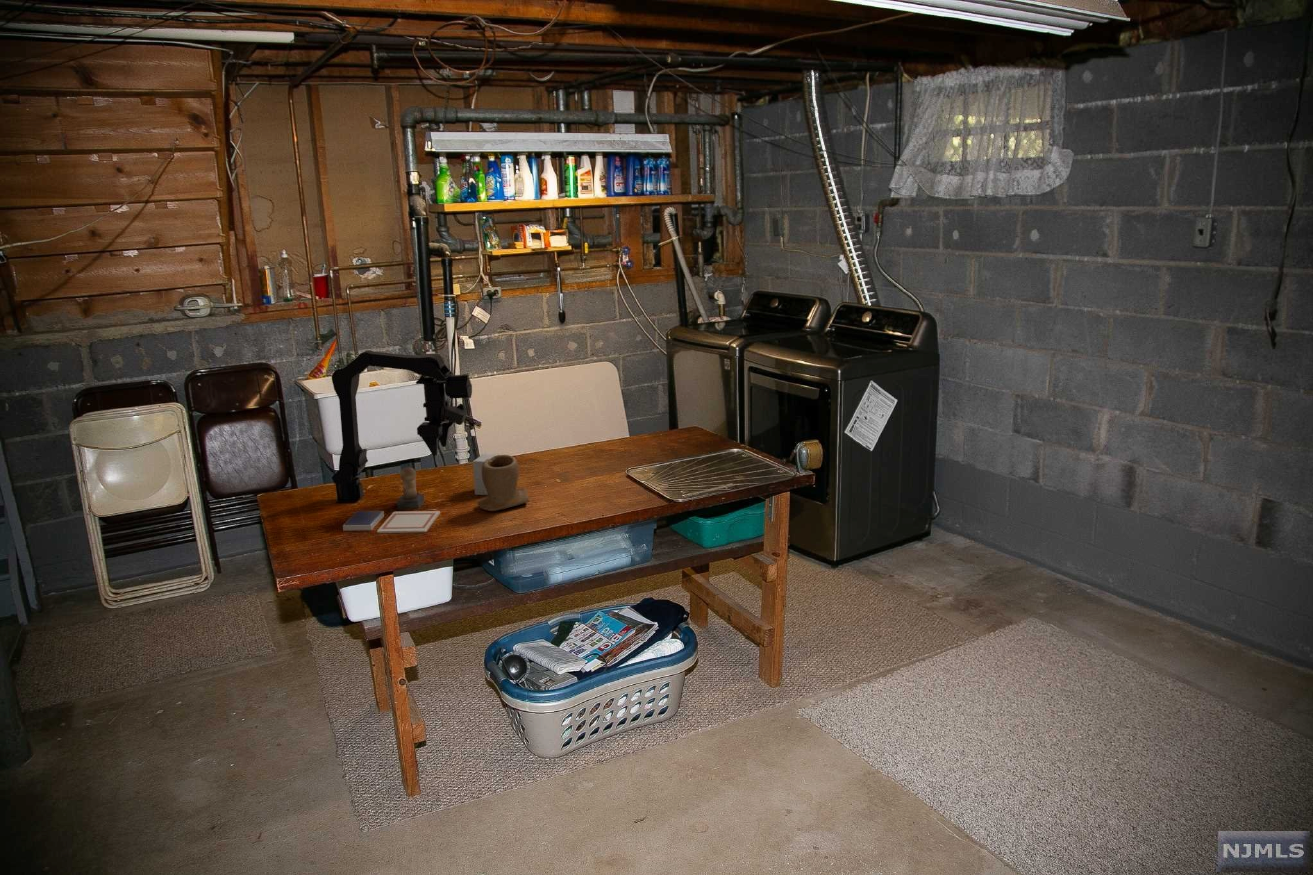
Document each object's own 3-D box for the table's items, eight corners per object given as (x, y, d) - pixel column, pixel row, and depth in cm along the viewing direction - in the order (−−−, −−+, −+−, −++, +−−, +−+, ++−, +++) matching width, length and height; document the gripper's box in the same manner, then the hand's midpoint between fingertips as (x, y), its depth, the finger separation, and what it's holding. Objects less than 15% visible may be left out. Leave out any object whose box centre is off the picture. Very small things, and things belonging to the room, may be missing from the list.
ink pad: (343, 530, 243) (342, 524, 243) (357, 516, 254) (356, 510, 253) (371, 530, 243) (370, 524, 242) (384, 515, 253) (383, 510, 253)
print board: (377, 532, 241) (376, 530, 241) (394, 513, 255) (393, 511, 255) (425, 532, 241) (425, 530, 240) (440, 512, 255) (439, 510, 255)
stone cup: (490, 518, 250) (486, 466, 246) (473, 506, 260) (469, 456, 256) (539, 506, 258) (536, 456, 254) (522, 495, 268) (518, 447, 264)
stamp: (397, 509, 259) (393, 470, 256) (403, 502, 264) (400, 464, 261) (418, 508, 259) (414, 470, 255) (424, 501, 264) (420, 464, 261)
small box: (492, 495, 268) (489, 461, 265) (474, 495, 269) (471, 461, 267) (502, 487, 276) (499, 454, 273) (484, 486, 277) (482, 453, 274)
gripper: (453, 406, 249) (458, 460, 254) (471, 391, 267) (475, 442, 272) (414, 406, 250) (419, 460, 254) (434, 391, 268) (438, 442, 272)
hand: (439, 451), depth 263 cm, fingers open, 9 cm apart
